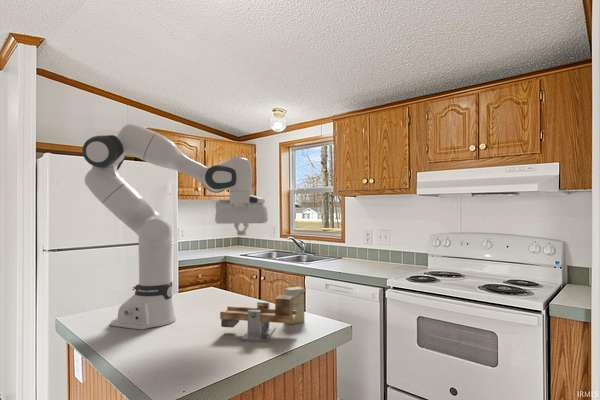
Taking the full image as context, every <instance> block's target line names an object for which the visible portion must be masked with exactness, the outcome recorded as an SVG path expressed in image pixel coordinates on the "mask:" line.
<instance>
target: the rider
mask: <svg viewBox="0 0 600 400" xmlns="http://www.w3.org/2000/svg"><path fill="white" fill-rule="evenodd" d="M274 301H275V302H274V305H275V306H274V307H275V308H274V309H275V315H287V316H292V314H293V296H287V295H285V294H278V295H277V296H276V297H275V299H274Z"/></svg>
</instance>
